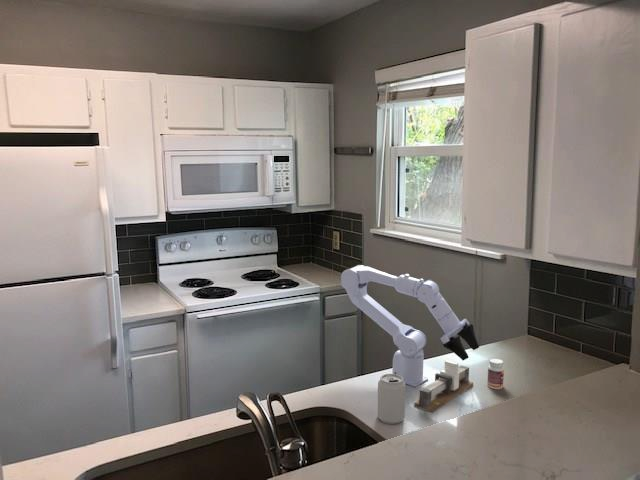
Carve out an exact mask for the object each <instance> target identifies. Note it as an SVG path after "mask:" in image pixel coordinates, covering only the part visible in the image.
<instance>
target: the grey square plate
mask: <svg viewBox="0 0 640 480" xmlns="http://www.w3.org/2000/svg"><path fill="white" fill-rule="evenodd" d="M434 375H435V377H434V381H436V380H438V379H440V378H441V379H444V380H447V389H444V390H443V391H442V392H445V393H448V394H450V393H451V377H448V376H445V375H441V374H440V373H435V374H434Z"/></svg>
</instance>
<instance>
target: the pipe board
mask: <svg viewBox="0 0 640 480" xmlns="http://www.w3.org/2000/svg"><path fill="white" fill-rule="evenodd" d="M458 372H459V388H457V389H456V390H454V391H453V390H451V393H450V394H448V393H445V392H442V391H443V390H444V389H447V380H444V379H441V378H439V379H438V380H436V381H435V380H434V381H433V382H431V383H429V384H428V385H426V386H424V387H422V388H420V389H419V391H418V392H419V395H418V400H416V401H414V403H413V406H414V407H416V406H417V407H416V408H419V409H422V410H424V411H428V412H430V413H433V412H435V411H436V410H438V409H440V408H441V407H442V406H444V405H446V404H447V403H448V402H450V401H452V400H453V399H454V398H456V397H458V396H460V395H461V394H462V393H464V392H465V391H467V390H468V389H469V388H471V387H473V385H474V382H473V381H471V380H469V378H470V367H468V366H465V365H458ZM445 376H446V375H445ZM448 377H449V376H448ZM451 385H452V377H451Z"/></svg>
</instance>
